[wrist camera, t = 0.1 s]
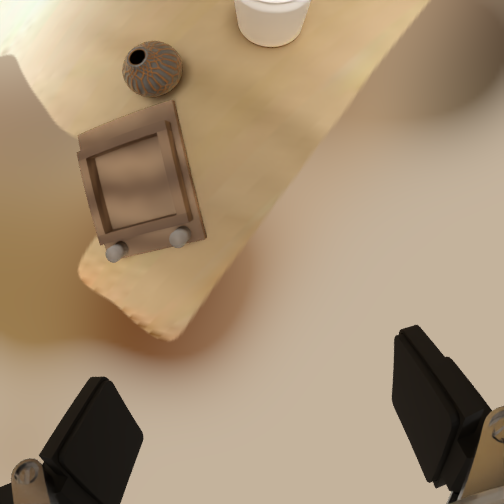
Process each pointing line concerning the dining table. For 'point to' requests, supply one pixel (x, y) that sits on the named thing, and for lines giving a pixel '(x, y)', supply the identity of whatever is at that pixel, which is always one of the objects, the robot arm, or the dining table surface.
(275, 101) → the dining table surface
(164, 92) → the vase
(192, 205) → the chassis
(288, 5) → the beverage can
